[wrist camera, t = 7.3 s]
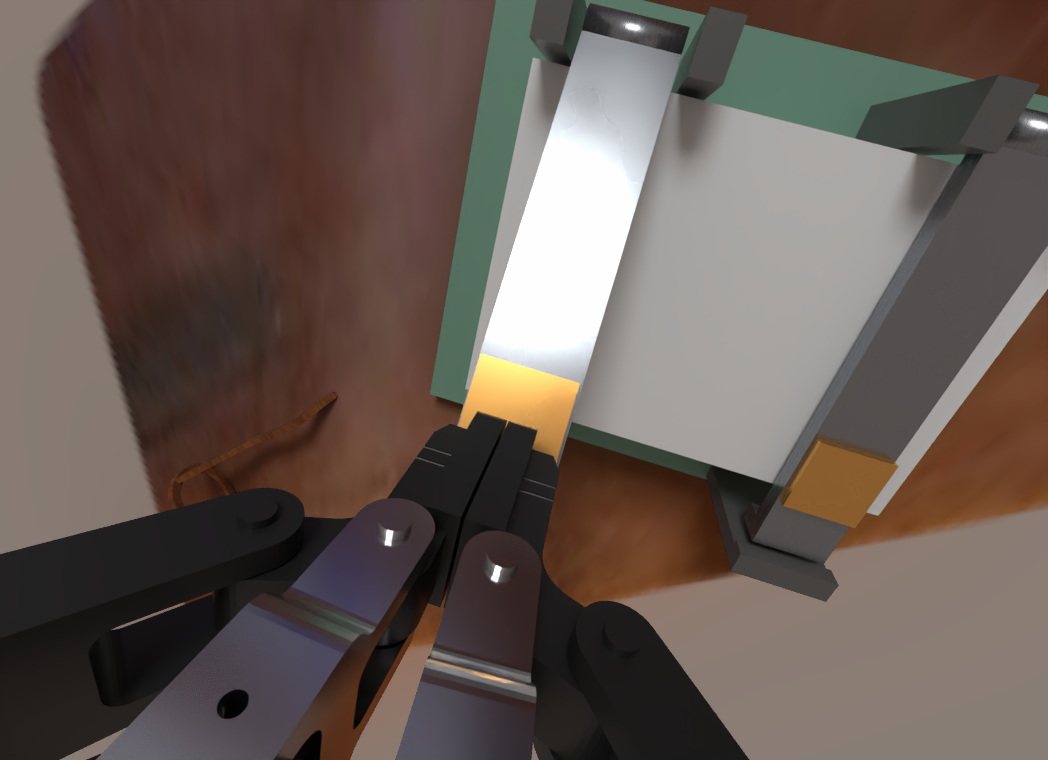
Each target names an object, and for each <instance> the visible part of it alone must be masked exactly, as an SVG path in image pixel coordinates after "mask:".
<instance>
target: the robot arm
mask: <svg viewBox="0 0 1048 760" xmlns="http://www.w3.org/2000/svg"><path fill="white" fill-rule="evenodd" d="M506 424H507V419H503V418H500V417H497V416H494V415H490V414H487V413H484V412H481V411H477V413H476V414H475V416H474V417H473V419H472V421H471V423H470V424H469V426H468V428H467V429H465V428H462V427H459V426H456V425H453V424H449V425H447V426H445V427H443V428H441V429H439V430H438V431H436V432H434V433H433V435H432V436H431V437H430V439H429V440H428V442H427V443H426V444H425V447H424V448H423V449H422V450H421V451H420V453H419V454H418V456H417V459H415V460H414V461H413V463H412V464H411V466H410V467H409V468H408V470H407V471H406V473H405V474H404V475H403V477H402V478H401V480H400V481H399V482H398V484H397V485H396V487H395V488H394V489H393V491H392V492H391V494H390V495H389V497H388V498H386V499H381V500H377V501H374V502H372V503H370V504H368V505H366V506H365V507H363V508H362V509H361V510H360V511H359V512H358V513H357V514H356V515H355V516H354V517H353V518H345V519H332V518H315V517H304V515H305V513H304V507H303V504H302V503H301V501H300V500H299V499H298V498H297V497H296V496H294V495H293V494H291V493H289V492H286V491H284V490H280V489H274V488H257V489H250V490H245V491H242V492H238V493H234V494H230V495H226V496H222V497H219V498H215V499H211V500H207V501H203V502H199V503H195V504H192V505H188V506H184V507H180V508H176V509H172V510H169V511H165V512H161V513H157V514H153V515H149V516H146V517H142V518H138V519H134V520H130V521H126V522H122V523H119V524H115V525H111V526H108V527H103V528H99V529H96V530H92V531H88V532H84V533H80V534H76V535H73V536H69V537H65V538H61V539H57V540H53V541H50V542H46V543H42V544H38V545H34V546H30V547H27V548H23V549H19V550H15V551H12V552H7V553H4V554H0V760H59V759H62V758H64V757H66V756H68V755H70V754H72V753H74V752H76V751H78V750H80V749H82V748H84V747H87V746H88V745H91V744H93V743H95V742H97V741H99V740H101V739H103V738H105V737H107V736H109V735H112V734H114V733H116V732H118V731H120V730H122V729H124V728H126V727H127V728H126V729H125V730H124V731H123V732H122V733H121V734H120V735H119V737H118V738H116V739H115V741H114V742H113V743H112V744H111V745H110V746H109V747H108V748H107V749H106V750H105V751H104V752H103V753H102V754H99V755H97V756H94V757H92V758H90V759H87V760H350V758H351V756H352V753H353V750H354V748H355V746H356V744H357V742H358V740H359V738H360V736H361V734H362V732H363V730H364V728H365V726H366V725H367V723H368V721H369V719H370V717H371V715H372V714H373V712H374V710H375V708H376V706H377V704H378V702H379V701H380V699H381V697H382V695H383V693H384V691H385V689H386V688H387V686H388V684H389V682H390V680H391V678H392V676H393V675H394V673H395V671H396V669H397V667H398V665H399V664H400V662H401V660H402V658H403V656H404V654H405V652H406V651H407V649H408V647H409V645H410V643H411V641H412V639H413V636H414V631H415V629H416V627H417V625H418V624H419V622H420V619H421V617H422V615H423V613H424V611H425V608H426V606H427V604H428V603H429V604H432V605H435V606H438V607H440V606H441V604H442V601H443V599H444V597H445V594H446V592H447V595H446V600H445V604H444V608H445V609H444V612H443V616H442V619H441V622H440V625H439V629H438V632H437V635H436V638H435V642H434V645H433V648H432V651H431V654H430V656H428V659H427V661H426V664H425V667H424V670H423V673H422V677H421V679H420V683H419V686H418V689H417V692H416V695H415V698H414V702H413V705H412V708H411V711H410V714H409V718H408V721H407V724H406V727H405V731H404V733H403V737H402V740H401V743H400V746H399V749H398V753H397V756H396V759H395V760H531V758H532V747H533V743H534V748H535V750H536V753H537V756H538V758H539V760H749V759H748V757H747V756H746V755H745V753H744V752H743V751H742V749H741V748H740V746H739V745H738V744H737V742H736V741H735V740H734V738H733V737H732V736H731V734H730V733H729V731H728V730H727V729H726V728H725V726H724V724H723V723H722V722H721V720H720V719H719V718H718V716H717V715H716V713H715V712H714V711H713V710H712V708H711V707H710V705H709V704H708V703H707V701H706V700H705V699H704V697H703V696H702V694H701V693H700V692H699V690H698V689H697V687H696V686H695V685H694V683H693V682H692V681H691V679H690V678H689V677H688V675H687V674H686V672H685V671H684V670H683V668H682V667H681V665H680V664H679V663H678V661H677V660H676V659H675V657H674V656H673V655H672V653H671V652H670V650H669V649H668V648H667V646H666V645H665V644H664V642H663V641H662V639H661V638H660V637H659V636H658V634H657V633H656V631H655V630H654V628H653V627H652V626H651V625H650V624H649V622H648V621H647V620H646V619H645V618H644V617H643V616H641V615H640V614H639V613H638V612H636V611H634V610H633V609H631V608H630V607H628V606H625V605H623V604H621V603H617V602H612V601H599V602H594V603H592V604H590V605H588V606H587V607H584V606H582V605H581V604H579V603H578V602H576V601H575V600H573V599H572V598H570V597H569V596H567V595H566V594H565V593H563V592H562V591H561V590H560V589H559V588H558V587H557V586H556V585H555V584H554V583H553V582H552V580H551V579H550V577H549V576H548V574H547V572H546V570H545V568H544V564H543V558H542V554H543V547H544V542H545V538H546V533H547V528H548V523H549V519H550V514H551V509H552V504H553V499H554V495H555V489H556V485H557V480H558V476H559V469H558V467H557V464H556V461H555V459H554V456H552V455H549V454H546V453H543V452H539V451H536V450H533V449H532V448H533V445H534V442H535V438H536V435H537V431H538V429H536V428H533V427H530V426H526V425H523V424H520V423H517V422H514V421H510V420H509V421H508V424H507V426H506ZM447 589H448V591H447ZM210 592H212V595H209V596H206V597H204V598H201V599H198V600H196V601H193V602H190V603H188V604H185V605H182V606H180V607H177V608H174V609H172V610H169V611H166V612H164V613H161V614H158V615H156V616H153V617H151V618H148V619H145V620H142V621H139V622H137V623H134V624H131V625H129V626H126V627H123V628H120V629H116V630H112V629H114V628H116V627H118V626H120V625H123V624H126V623H128V622H131V621H134V620H137V619H139V618H142V617H145V616H147V615H150V614H152V613H156V612H158V611H161V610H164V609H166V608H169V607H172V606H175V605H177V604H180V603H183V602H185V601H188V600H191V599H194V598H196V597H199V596H202V595H204V594H207V593H210Z"/></svg>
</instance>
